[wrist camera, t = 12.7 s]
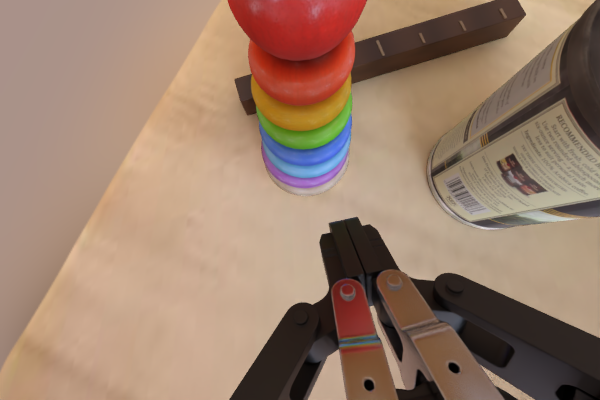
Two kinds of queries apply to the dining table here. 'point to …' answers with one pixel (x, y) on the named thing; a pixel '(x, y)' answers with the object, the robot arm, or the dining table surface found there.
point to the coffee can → (529, 141)
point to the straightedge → (421, 42)
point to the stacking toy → (302, 86)
